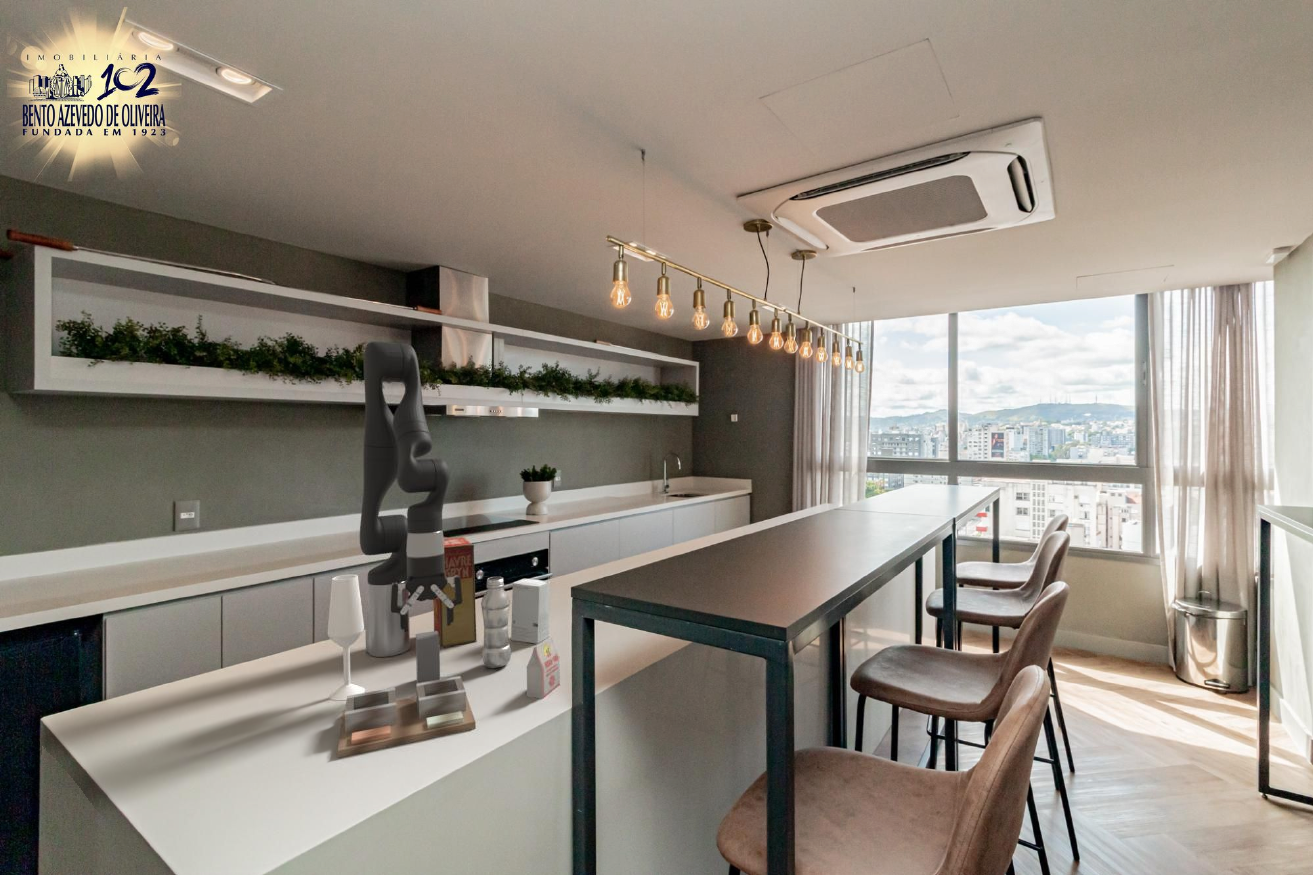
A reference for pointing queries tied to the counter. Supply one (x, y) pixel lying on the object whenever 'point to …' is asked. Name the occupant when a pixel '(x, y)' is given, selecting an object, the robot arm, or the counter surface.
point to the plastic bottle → (495, 624)
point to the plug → (427, 656)
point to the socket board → (404, 716)
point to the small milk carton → (543, 670)
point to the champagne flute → (345, 626)
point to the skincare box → (530, 611)
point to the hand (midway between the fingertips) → (427, 627)
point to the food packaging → (464, 623)
